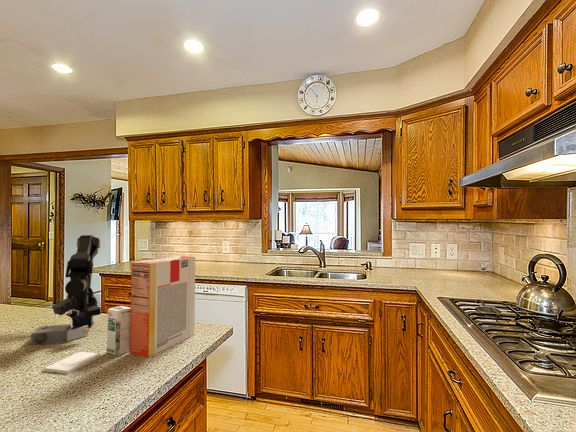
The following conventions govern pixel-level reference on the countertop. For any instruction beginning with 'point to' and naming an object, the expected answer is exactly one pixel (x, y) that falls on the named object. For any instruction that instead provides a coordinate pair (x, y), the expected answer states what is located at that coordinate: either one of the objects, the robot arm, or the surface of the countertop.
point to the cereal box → (161, 303)
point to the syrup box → (118, 330)
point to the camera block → (49, 334)
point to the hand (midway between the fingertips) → (78, 331)
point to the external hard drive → (72, 362)
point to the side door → (76, 333)
